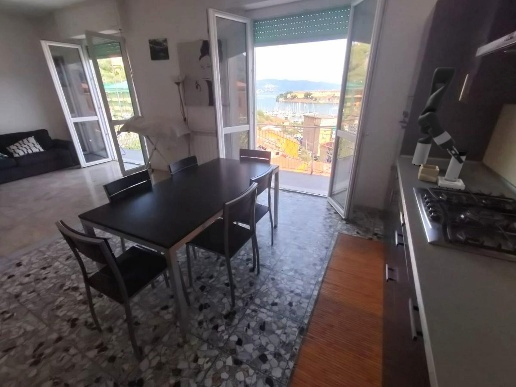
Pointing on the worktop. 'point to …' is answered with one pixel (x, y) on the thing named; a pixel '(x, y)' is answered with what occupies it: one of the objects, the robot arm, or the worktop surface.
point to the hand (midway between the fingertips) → (461, 161)
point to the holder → (428, 173)
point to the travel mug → (455, 167)
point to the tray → (450, 183)
